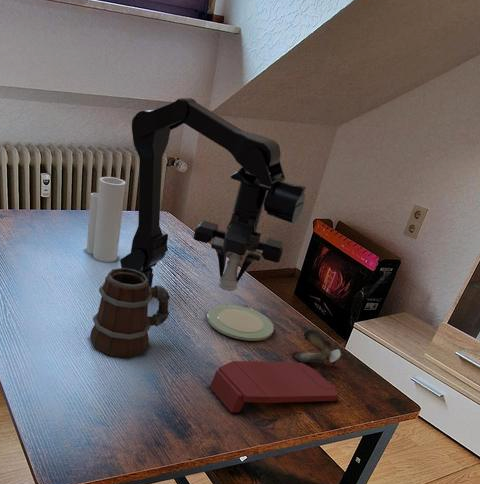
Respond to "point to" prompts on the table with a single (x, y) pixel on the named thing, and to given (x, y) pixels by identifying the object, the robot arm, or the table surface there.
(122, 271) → the mug
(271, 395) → the dark red wedge slab
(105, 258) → the vase
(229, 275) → the rook chess piece
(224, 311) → the plate
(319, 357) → the eagle figurine
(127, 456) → the table surface
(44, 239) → the table surface
